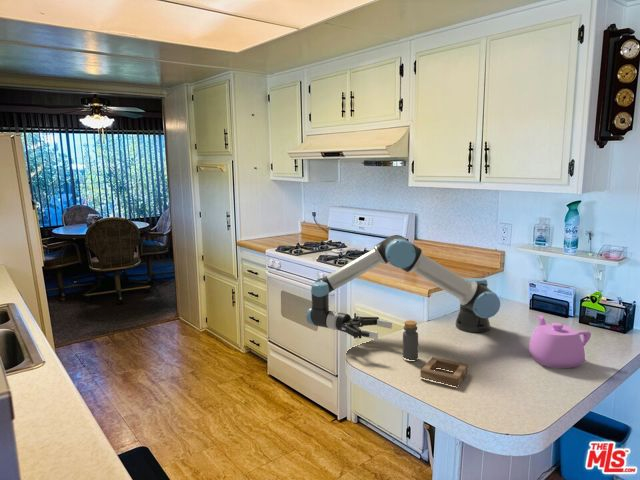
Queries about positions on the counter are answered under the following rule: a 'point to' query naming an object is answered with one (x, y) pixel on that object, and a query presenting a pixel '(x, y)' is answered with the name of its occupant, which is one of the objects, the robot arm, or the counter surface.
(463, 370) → the block
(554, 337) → the teapot
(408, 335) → the bottle
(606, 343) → the counter surface
